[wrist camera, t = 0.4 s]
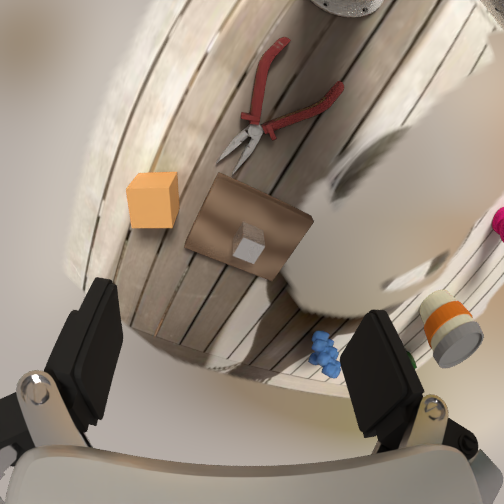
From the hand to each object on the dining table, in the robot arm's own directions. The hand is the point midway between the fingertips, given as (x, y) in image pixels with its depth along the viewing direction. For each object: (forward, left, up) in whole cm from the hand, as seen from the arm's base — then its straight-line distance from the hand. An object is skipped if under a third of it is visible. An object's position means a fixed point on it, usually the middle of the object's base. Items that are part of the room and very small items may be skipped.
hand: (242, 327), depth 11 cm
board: (+14, +8, -34) cm, 38 cm away
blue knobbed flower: (+31, +34, -35) cm, 58 cm away
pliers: (-5, +1, -35) cm, 35 cm away
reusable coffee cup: (+12, +57, -35) cm, 68 cm away
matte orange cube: (+14, -7, -34) cm, 38 cm away
